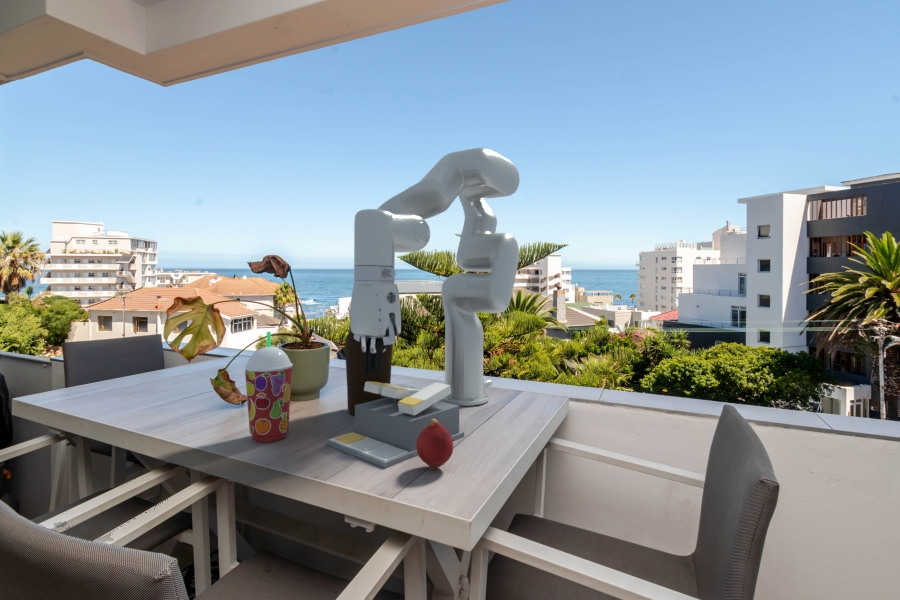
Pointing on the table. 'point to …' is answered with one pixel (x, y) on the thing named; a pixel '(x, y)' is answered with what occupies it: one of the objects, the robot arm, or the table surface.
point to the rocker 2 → (398, 391)
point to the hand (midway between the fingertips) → (373, 372)
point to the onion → (434, 445)
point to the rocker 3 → (424, 398)
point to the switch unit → (392, 430)
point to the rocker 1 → (380, 387)
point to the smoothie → (268, 392)
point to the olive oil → (357, 375)
